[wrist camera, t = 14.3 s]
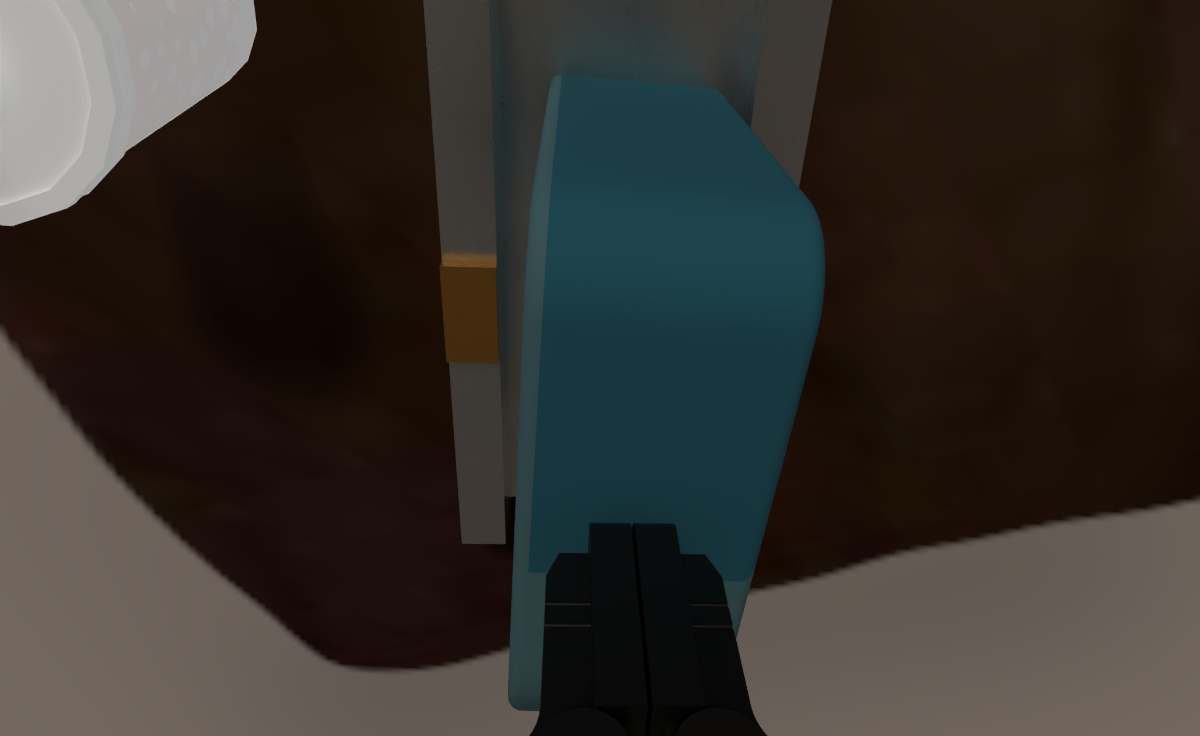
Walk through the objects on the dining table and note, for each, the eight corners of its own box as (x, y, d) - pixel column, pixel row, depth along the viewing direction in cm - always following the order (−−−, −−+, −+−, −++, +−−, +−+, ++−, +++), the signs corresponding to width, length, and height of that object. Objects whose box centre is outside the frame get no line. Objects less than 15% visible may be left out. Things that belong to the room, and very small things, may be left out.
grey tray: (808, -40, 20) (854, -32, 17) (725, 482, 30) (743, 555, 26) (434, -57, 20) (404, -52, 17) (467, 478, 29) (452, 551, 26)
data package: (660, 431, 27) (711, 749, 17) (533, 424, 27) (505, 744, 16) (715, 78, 21) (849, 235, 11) (552, 63, 21) (527, 211, 10)
